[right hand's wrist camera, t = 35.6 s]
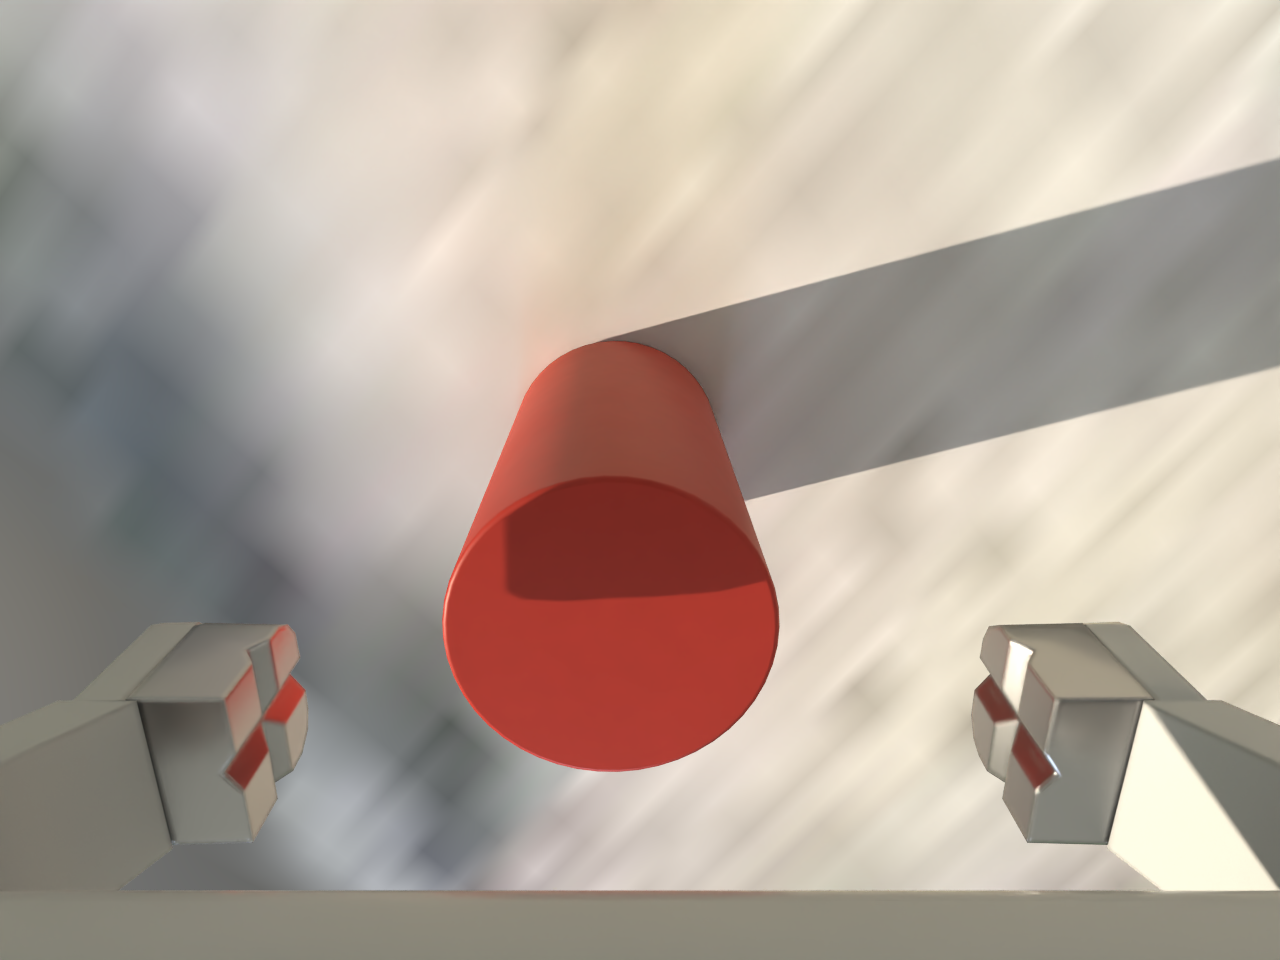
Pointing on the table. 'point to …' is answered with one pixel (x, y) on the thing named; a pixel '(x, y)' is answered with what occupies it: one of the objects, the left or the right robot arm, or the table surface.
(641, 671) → the red cylinder
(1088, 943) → the right robot arm
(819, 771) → the table surface
